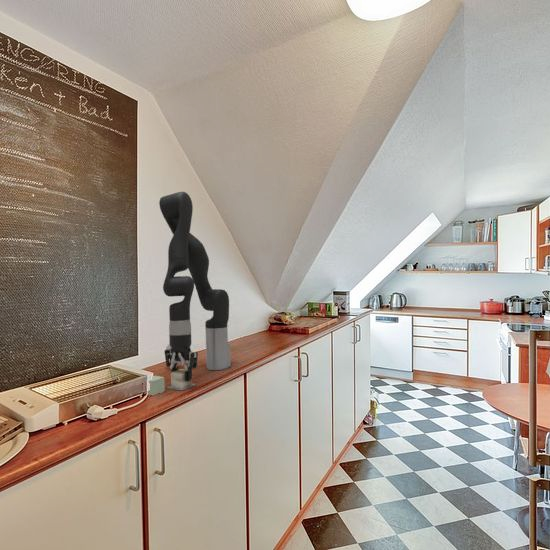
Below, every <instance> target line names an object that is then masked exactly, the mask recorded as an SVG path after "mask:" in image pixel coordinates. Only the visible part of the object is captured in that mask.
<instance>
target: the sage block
mask: <svg viewBox="0 0 550 550" xmlns="http://www.w3.org/2000/svg"><path fill="white" fill-rule="evenodd" d="M152 376H153V377H152V380H150V381H149V383H150V390H149V391H148V394H149V395H148V396H150V395H155V394H157V395H159V394H158V393H160V394H162V393H165V392H166V390H165V388H166V387H165V385H166V384H165V377H164V376H159V375H152ZM164 391H165V392H164ZM155 396H156V395H155Z"/></svg>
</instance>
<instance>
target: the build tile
mask: <svg viewBox="0 0 550 550" xmlns="http://www.w3.org/2000/svg"><path fill="white" fill-rule="evenodd" d="M192 386H193V387H195V386H197V383H193V382H192V385H189V386H187V387H184V388H182V389H181V388H176V387H171V385H168V386H167V387H166V389H167V390H173V389H175V390H174V391H179V390H181V391H180V392H183V390H184V391H186V390H188V389H191V388H193V387H192ZM190 387H191V388H190ZM187 388H188V389H187ZM185 389H186V390H185Z"/></svg>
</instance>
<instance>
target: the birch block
mask: <svg viewBox="0 0 550 550" xmlns="http://www.w3.org/2000/svg"><path fill="white" fill-rule="evenodd" d="M185 371H186V370H185V368H184V369H183V368H180V369H178V370H177V371H174V372H171V371H170V386H171V387H176V388H181V389H182V388H184V387H187V386H189V385H192V383H193V381H192V379H193V378H192V379H191V381H188V382H186V380H185Z"/></svg>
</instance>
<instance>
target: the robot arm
mask: <svg viewBox="0 0 550 550" xmlns="http://www.w3.org/2000/svg"><path fill="white" fill-rule="evenodd" d="M158 205H159V209H160V211H161V214H162V217H163V218H164V220H165V222H166V224H167V225H168V228H169V229H170V231H171V233H172V238H171V240H170V242H169V245H168V251H167V254H168V255H167V258H168V260H167V261H168V262H167V271H166V275H165V278H164V280H163V285H162V290H163V293H164V295H166V297H183V299H182V300H181V301H179V302H174V303H172V304H170V305H169V309H168V311H169V314H168V315H169V325H168V332H169V333H168V334H169V335H168V337H169V340H168V341H169V344H170V347H171V349H168V350H166V349H165V350H164V358H165V365H166V367H168V368H170V373H171V372H174V371H177V370H179V369H178V366H179V363H181V364H182V366H184V367H183V368H184V369H185V370H186V371H185V380H186V382H188V381H191V379H193V370H194V369H195V370H196V369H197V367H198V359H199V358H198V356H199V353H198V351H192V349H191V346H192V324H191V309H190V308H191V307H190V306H191V301H192V297H193V292H194V289H196V293H197V296H198V300H199V303H200V305H201V306H202V308H203V309H204V310H206V311H209V312H212V317H211V318H209V319H206V320H205V323H204V324H205V325H204V326H205V354H206V356H205V358H206V369H207V370H210V371H221V370H226V369H228V368H230V366H231V345H230V344H229V339H228V338H229V337H228V336H229V335H228V334H229V333H228V322H229V318H230V299H229V298H230V297H229V293H228V292H227V291H226V290H225V289H216V288H215V289H213V287H212V286H211V284H210V282H209V277H208V273H209V266H210V259H209V255H208V254H207V251H206V248H205V245H204V244H203V243H202V241H200V240H199V239H198V238H197V237H196V236H195V235H193V234H192V233H191V225H192V219H193V210H194V209H193V208H194V207H193V206H194V205H193V201H192V198H191V197H190V195H189V194H188V193H187V192H185V191H178V192H175V193H171V194H167V195H164V196H162V197H160V198H159V204H158ZM187 269H188V271H189V274H190V275H188V276H187V275H185V276H184V275H183V276H175V275H176V274H177V273H181V272H184V271H187ZM231 367H232V366H231Z"/></svg>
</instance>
